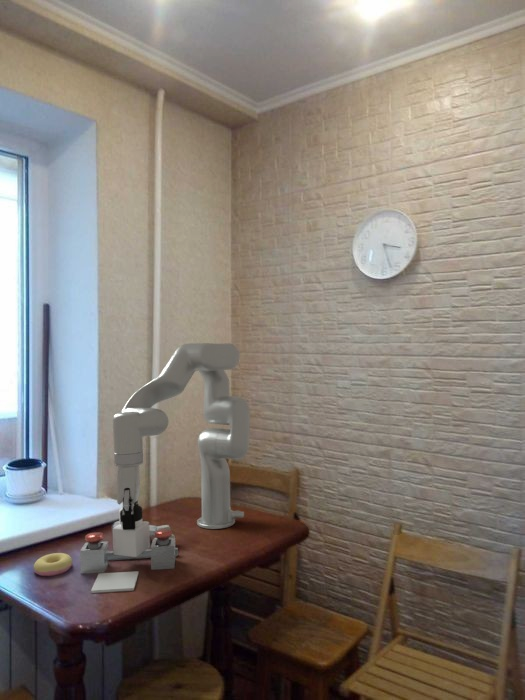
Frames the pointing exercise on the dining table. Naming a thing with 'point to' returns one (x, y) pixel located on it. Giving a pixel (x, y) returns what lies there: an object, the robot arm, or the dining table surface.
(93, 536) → the plunger
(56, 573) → the donut
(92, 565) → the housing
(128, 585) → the mat
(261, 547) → the dining table surface
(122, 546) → the medicine bottle
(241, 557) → the dining table surface
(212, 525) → the robot arm
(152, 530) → the grey piece
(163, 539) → the plunger
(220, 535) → the dining table surface
